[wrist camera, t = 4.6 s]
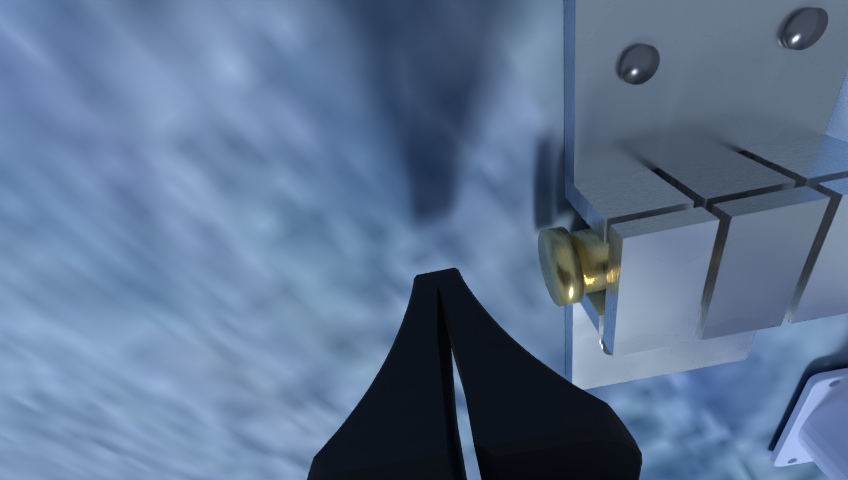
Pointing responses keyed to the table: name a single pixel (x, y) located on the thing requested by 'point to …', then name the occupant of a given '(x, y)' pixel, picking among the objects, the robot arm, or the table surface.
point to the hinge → (703, 177)
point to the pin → (572, 263)
